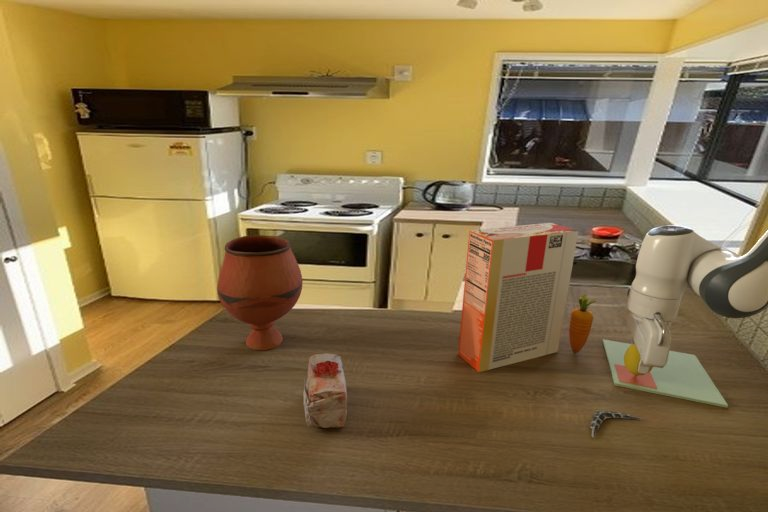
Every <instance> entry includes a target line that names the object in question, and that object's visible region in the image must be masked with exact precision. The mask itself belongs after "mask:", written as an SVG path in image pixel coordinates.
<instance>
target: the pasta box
mask: <svg viewBox="0 0 768 512" xmlns="http://www.w3.org/2000/svg"><path fill="white" fill-rule="evenodd" d="M578 236H579V230H577V229H574V228H570V227H566V226H564V225H560V224H557V223H553V222H543V223H531V224H521V225H511V226H502V227H492V228H491V227H490V228H480V229H470V230H469V231H468V240H467V241H468V243H467V252H466V263H465V275H464V285H463V287H464V288H463V295H462V297H463V298H462V307H461V320H460V329H459V340H458V353H457V354H458V356H460V358H462V360H464V361H465V362H466V363H468V365H470V366H471V367H472V368H473V369H474V370H475V371H476V372H478V373H482V372H486V371H489V370H493V369H497V368H500V367H506V366H508V365H509V366H510V365H512V364H516V363H521V362H524V361H528V360H532V359H536V358H540V357H544V356H548V355H551V354H555V353H558V351H559V347H560V340H561V334H562V329H563V323H564V318H565V317H564V316H565V312H566V311H565V310H566V305H567V299H568V294H569V288H570V282H571V277H572V271H573V265H574V260H575V254H576V247H577V243H578Z"/></svg>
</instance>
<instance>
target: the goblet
mask: <svg viewBox="0 0 768 512" xmlns="http://www.w3.org/2000/svg"><path fill="white" fill-rule="evenodd" d="M303 282H304V281H303V276H302V271H301V268H300V265H299V263H298V261H297V259H296V256H295V255H294V252H293V250H292V247H291V242H290V240H288V239H286V238H283V237H280V236H276V235H266V234H265V235H263V234H262V235H260V234H259V235H258V234H252V235H244V236H239V237H236V238H234V239H231V240H229V241H228V242H226V243H225V245H224V258H223V261H222V264H221V268H220V271H219V274H218V278H217V285H216V292H217V293H216V294H217V297H218V299H219V302H220V304H221V305H222V307H223V308H224V309H225V310H226V311H227V313H229V314H230V315H231V316H232V317H234V318H235V319H236V320H238V321H240V322H242V323H245V324H249V328H251V332H250V333H249V334H248V336H247V338H246V341H245V344H246V346H247V347H248V348H249V349H252V350H255V351H269V350H272V349H276V348H277V347H279V346H280V345H281V344H282V342H283V340H284V339H283V335H282V333H281V332H280V331H279V330H278V329H277V328H276V327H275V326H274V325H275V323H276V321H277V320H280V319H281V318H282V317H285V316H286V315H287V314H288V313H290V311H291V310H292V309H293V308H294V307H295V305H296V304H297V302H298V301H299V299H300V297H301V294H302V290H303Z"/></svg>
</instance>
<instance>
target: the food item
mask: <svg viewBox="0 0 768 512" xmlns="http://www.w3.org/2000/svg"><path fill="white" fill-rule="evenodd" d="M307 366H308V367H307V378H304V379H303V380H304V381H303V383H304V384H303V392H302V395H303V409H304V416H305V421H306V422H305V423H306V425H307V426H308V428H309V429H310V428H322V429H328V428H338V429H339V428H344V427H345V425H346V420H347V413H348V389H347V381H346V377H345V372H344V364H343V360H342V356H341V355H338V354H336V353H326V352H324V353H318V354H317V353H316V354H312V355H310V356H309V358H308V365H307Z"/></svg>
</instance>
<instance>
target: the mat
mask: <svg viewBox="0 0 768 512" xmlns="http://www.w3.org/2000/svg"><path fill="white" fill-rule="evenodd" d="M601 342H602V345H603V349H604V352H605V356H606V360H607V364H608V367H609V370H610V375H611V378H612V381H613V384H614V386H616V387H622V388H627V389H631V390H634V391H635V390H636V391H641V392H646V393H652V394H655V395H661V396H667V397H670V398H675V399H682V400H686V401H691V402H695V403H701V404H705V405H711V406H716V407H721V408H725V409H728V407H729V404H728V403H727V401H726V400H725V398H724V396H723V395H722V394H721V392H720V391H719V389H718V388H717V385H716V384H715V383H714V381H713V380H712V379H711V377H710V376H709V374H708V372H707V371H706V369H705V368H704V366H703V365H702V363H701V362H700V360H699V358H698V357H697V356H696V354H693V353H691V354H690V353H686V352H680V351H674V350H669V355H668V360H667V363H666V365H665V367H663V368H658V367H653V368H652V370H651V371H650V372H649V373H648V374H645V375H638V376H634V375H633V374H632V373H631V372H629V371H628V370H627V368H626V367H625V364H624V355H625V352H626V350H627V349H628V347H629V346H631V345H632V343H627V342H623V341H622V342H621V341H615V340H611V339H610V340H609V339H604V338H603V339H602V340H601Z"/></svg>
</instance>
